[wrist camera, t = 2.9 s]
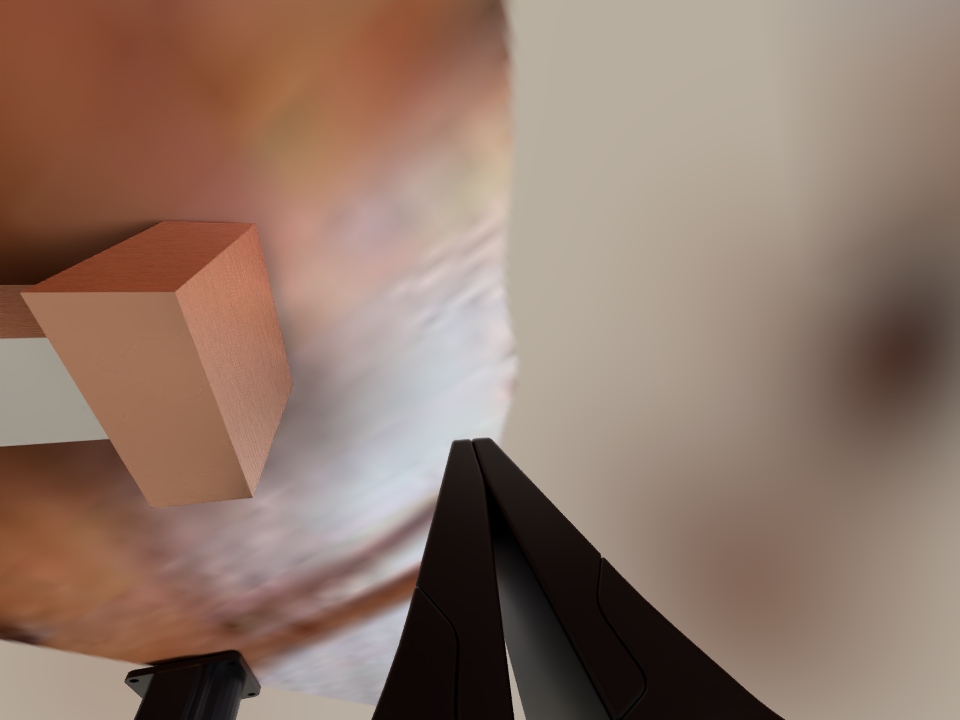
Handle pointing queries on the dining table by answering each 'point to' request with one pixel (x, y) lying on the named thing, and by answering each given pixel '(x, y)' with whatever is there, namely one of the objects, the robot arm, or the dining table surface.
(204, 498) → the shaft
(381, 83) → the dining table surface
